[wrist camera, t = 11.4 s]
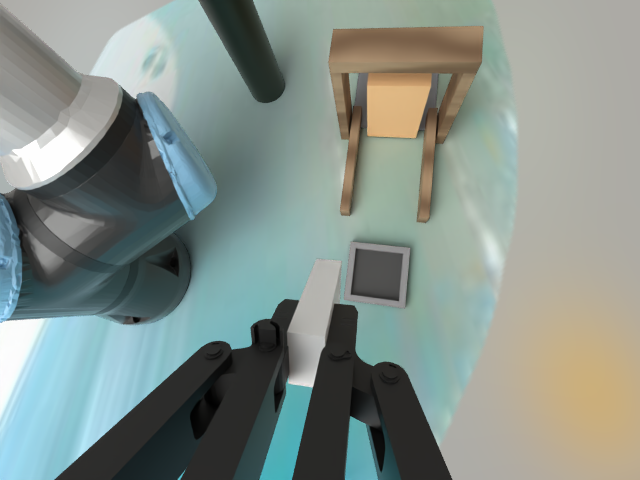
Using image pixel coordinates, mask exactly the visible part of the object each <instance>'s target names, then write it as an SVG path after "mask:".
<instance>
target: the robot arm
mask: <svg viewBox="0 0 640 480" xmlns="http://www.w3.org/2000/svg"><path fill="white" fill-rule="evenodd" d="M0 162H1V165H2V169H3V172H4V175H5V178H6V180H7V182H8V183H9V184H10V185H12V186H13V187H15V189H14V190H13V191H11V192H9V193H6V194H1V193H0V323H2V322H3V321H9V320H25V319H40V318H56V317H71V316H86V315H96V316H99V317H101V318H104V319H107V320H110V321H113V322H116V323H119V324H124V325H140V324H148V323H152V322H155V321H158V320H160V319H162V318H164V317H165V316H167V315H168V314H169V313H170V312H172V311H173V310H174V309H175V308H176V306H177V305H178V304H179V303H180V301H181V300H182V298H183V296H184V294H185V292H186V290H187V287H188V284H189V280H190V271H191V267H190V259H189V255H188V252H187V249H186V247H185V245H184V244H183V242H182V241H181V240H180V239H179V238H178V237H177V236H176V235H175V234H174V233H173V232H174V231H176V230H177V229H179V228H180V227H181V226H183V225H184V224H186V223H187V222H188V221H190V220H194V218H195V216H196V215H197V214H198V213H199V212H200V211H202V210H203V209H204V208H205V207H207V206H208V205H209V204H210V203H212V202H213V200H214V199H215V197H216V194H217V185H216V182H215V180H214V178H213V175H212V173H211V172H210V170H209V168H208V166H207V165H206V163H205V161H204V160H203V158H202V156H201V155H200V153H199V152H198V150H197V149H196V147H195V146H194V144H193V143H192V141H191V140H190V138H189V137H188V135H187V134H186V132H185V131H184V129H183V128H182V127H181V125H180V124H179V122H178V121H177V120H176V118H175V117H174V116H173V114H172V113H171V112H170V111H169V109H168V108H167V107H166V106H165V104H164V103H163V102H162V101H161V100H159V98H158V97H157V96H156V95H155V94H154V93H152V92H145V93H139V94H138V95H137V99H135V98H133V97H131V96H130V95H129V94H128V93H127V92H126V91H125V90H124V89H123V88H122V87H121V86H120V85H119V84H118V83H116V82H115V81H114V80H113V79H111V78H106V77H98V76H90V75H84V74H81V73H79V72H77V71H76V70H75V69H74V68H72V67H71V66H70V65H69V64H68V63H67V62H66V61H65V60H64V59H62V58H61V57H60V56H59V55H58V54H57V53H56V52H55V51H53V50H52V49H51V48H50V47H49V46H48V45H47V44H46V43H45V42H43V41H42V40H41V39H40V38H39V37H38V36H37V35H36V34H34V33H33V32H32V31H31V30H30V29H29V28H28V27H26V26H25V25H24V24H23V23H22V22H21V21H20V20H19V19H18V18H17V17H15V16H14V15H13V14H12V13H11V12H10V11H9V10H8V9H6V8H5V7H4V6H3V5H2V4H1V3H0ZM341 264H342V261H338V260H326V259H316V261H315V263H314V266H313V268H312V271H311V273H310V276H309V278H308V281H307V283H306V286H305V288H304V291H303V293H302V296H301V298H300V301H299V300H289V299H285V300H283V301H282V302H281V303H280V304H278V306H277V308H276V310H275V312H274V314H273V316H272V318H271V319H264V320H260V321H258V322H256V323H254V324H253V325H252V326H251V337H252V345H251V346H250V347H247V348H241V349H233V350H231V347H230V345H229V344H228V343H226V342H223V341H214V342H210V343H208V344H206V345H204V346H203V347H201V348H200V349H199V350H198V351H197V352H196V353H194V354H193V355H192V356H191V357H190V358H189V359H188V360H187V361H186V362H184V363H183V364H182V365H181V366H180V367H179V368H178V369H177V370H176V371H174V372H173V373H172V374H171V375H170V376H169V377H168V378H167V379H166V380H164V381H163V382H162V383H161V384H160V385H159V386H158V387H157V388H156V389H155V390H153V391H152V392H151V393H150V394H149V395H148V396H147V397H146V398H145V399H143V400H142V401H141V402H140V403H139V404H138V405H137V406H136V407H135V408H133V409H132V410H131V411H130V412H129V413H128V414H127V415H126V416H125V417H123V418H122V419H121V420H120V421H119V422H118V423H117V424H116V425H115V426H113V427H112V428H111V429H110V430H109V431H108V432H107V433H106V434H105V435H103V436H102V437H101V438H100V439H99V440H98V441H97V442H96V443H95V444H93V445H92V446H91V447H90V448H89V449H88V450H87V451H86V452H85V453H84V454H82V455H81V456H80V457H79V458H78V459H77V460H76V461H75V462H74V463H72V464H71V465H70V466H69V467H68V468H67V469H66V470H65V471H64V472H62V473H61V474H60V475H59V476H58V477H57V478H56V479H55V480H177V479H178V478H179V477H180V476H181V474H182V473H183V472H184V470H185V469H186V470H185V472H184V474H183V476H182V478H181V480H259V479H260V475H261V472H262V469H263V466H264V463H265V459H266V456H267V453H268V450H269V446H270V443H271V440H272V437H273V434H274V430H275V427H276V424H277V421H278V418H279V414H280V411H281V408H282V405H283V402H284V398H285V395H286V382H287V379H288V376H289V384H294V385H301V386H307V387H313V390H312V394H311V398H310V403H309V407H308V412H307V416H306V420H305V425H304V429H303V434H302V438H301V443H300V447H299V451H298V456H297V460H296V465H295V469H294V473H293V478H292V480H345V471H346V459H347V447H348V434H349V422H350V416H351V417H353V418H355V419H357V420H359V421H361V422H363V423H365V424H366V427H367V431H368V436H369V440H370V445H371V449H372V454H373V458H374V463H375V467H376V471H377V476H378V480H452V478H451V475H450V473H449V471H448V468H447V466H446V464H445V461H444V459H443V457H442V454H441V452H440V450H439V447H438V445H437V443H436V440H435V438H434V436H433V433H432V431H431V429H430V426H429V424H428V422H427V419H426V417H425V415H424V412H423V410H422V408H421V405H420V403H419V401H418V398H417V396H416V394H415V391H414V389H413V386H412V384H411V382H410V379H409V377H408V375H407V373H406V372H405V370H404V369H403V368H401V367H400V366H399V365H397V364H394V363H392V362H381V363H378V364H376V365H375V366H372V365H369V364H367V363H365V362H363V361H362V360H361V359H360V358H359V357H358V356H357V354H356V352H355V346H356V333H357V319H358V311H357V310H356V308H355V306H353V305H344V304H339V303H340V287H341Z"/></svg>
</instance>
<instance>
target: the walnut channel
mask: <svg viewBox="0 0 640 480" xmlns="http://www.w3.org/2000/svg"><path fill="white" fill-rule="evenodd" d="M482 46H483V26H462V27H415V28H369V29H333V35H332V41H331V48H330V55H329V62H328V63H329V69H330V75H331V81H332V86H333V92H334V98H335V104H336V110H337V116H338V121H339V127H340V133H341V139H348V140H349V145H348V152H347V160H346V168H345V175H344V183H343V191H342V199H341V206H340V212H341V215H345V216H350V210H351V202H352V194H353V186H354V178H355V169H356V161H357V153H358V145H359V137H360V129H361V119H362V106H353V114H352V106H351V95H350V84H349V73H453V74H452V77H451V80H450V82H449V85H448V88H447V90H446V93H445V96H444V98H443V101H442V104H441V106H440V109H439V112H438V115H437V110H438V108H428V112H427V115H426V121H425V130H424V142H423V154H422V166H421V177H420V189H419V201H418V213H417V222H422V223H426V222H427V220H428V219H429V214H430V201H431V188H432V175H433V162H434V149H435V143H437V144H443V142H444V140H445V138H446V136H447V134H448V132H449V130H450V128H451V125H452V123H453V121H454V119H455V117H456V115H457V113H458V111H459V109H460V107H461V104H462V102H463V100H464V98H465V96H466V94H467V92H468V90H469V88H470V86H471V83H472V81H473V79H474V77H475V75H476V73H477V71H478V69H479V67H480V65H481V62H482Z"/></svg>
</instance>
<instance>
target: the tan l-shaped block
mask: <svg viewBox="0 0 640 480" xmlns="http://www.w3.org/2000/svg"><path fill="white" fill-rule="evenodd" d="M431 79H432V73H369V74H368V82H367V136H376V137H400V138H416V136H417V132H418V129H419V126H420V122H421V119H422V115H423V112H424V108H425V105H426V102H427V98H428V95H429V91H430V88H431Z"/></svg>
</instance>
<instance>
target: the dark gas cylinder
mask: <svg viewBox="0 0 640 480" xmlns="http://www.w3.org/2000/svg"><path fill="white" fill-rule="evenodd" d="M198 1H199V2H200V4H201V6H202V8H203V9H204V11H205V13H206V15H207V16H208V18H209V20H210V22H211V23H212V25H213V27H214V29H215V30H216V32H217V34H218V36H219V37H220V39H221V41H222V43H223V44H224V46H225V48H226V50H227V51H228V53H229V55H230V57H231V58H232V60H233V62H234V64H235V65H236V67H237V69H238V71H239V72H240V74H241V76H242V78H243V79H244V81H245V83H246V85H247V86H248V88H249V90H250V92H251V93H252V95H253V97H254V98H255V99H256V100H257V101H259V102H263V103H268V102H272V101H274V100H276V99H277V98H279V97H280V95H281V94H282V93H283V91H284V87H285V83H284V79H283V77H282V74H281V72H280V69H279V67H278V64H277V61H276V59H275V56H274V54H273V51H272V49H271V46H270V43H269V41H268V38H267V36H266V33H265V31H264V28H263V25H262V23H261V20H260V18H259V15H258V13H257V10H256V7H255V5H254V2H253V0H198Z"/></svg>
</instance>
